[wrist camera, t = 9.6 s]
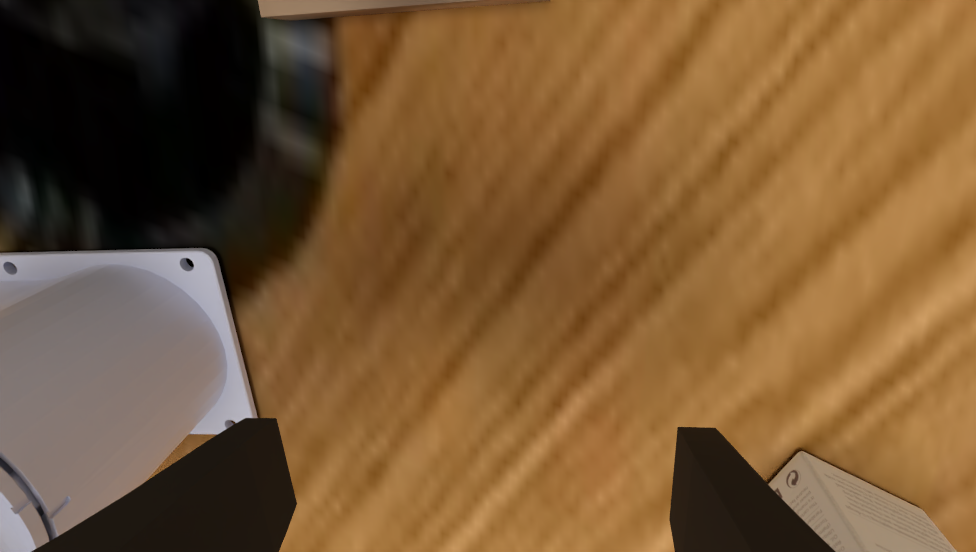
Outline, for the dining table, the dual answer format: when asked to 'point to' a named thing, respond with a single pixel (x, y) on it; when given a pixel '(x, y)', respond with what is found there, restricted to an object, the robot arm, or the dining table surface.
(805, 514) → the skincare box
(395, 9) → the tower base
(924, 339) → the dining table surface
